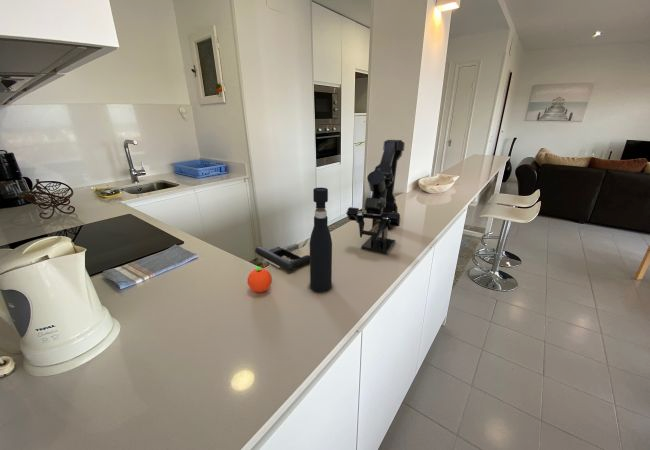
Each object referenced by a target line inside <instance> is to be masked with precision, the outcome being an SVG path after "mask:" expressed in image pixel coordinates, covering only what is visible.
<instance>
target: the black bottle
mask: <svg viewBox="0 0 650 450" xmlns="http://www.w3.org/2000/svg"><path fill="white" fill-rule="evenodd" d="M312 195H313V196H312V197H313V198H312V199H313V202H314V203H315V210H314V216H313V228H312V229H311V230H312V231H311V233H310V238H309V256H310V263H309V280H310V281H309V282H310V283H309V285H310V286H309V287H310V289H311V290H312V291H313V292H316V293H325V292H329V291H330V290H331V289H332V287H333V286H332V279H333V278H332V275H333V241H332V236H331V232H330V229H329V226H328V223H329V222H328V221H329V220H328V218H329V217H328V216H327V215H328V214H327V213H328V211H327V209H326V208H327V207H326V203H328V202H329V189H328V188H327V187H314V188H313V194H312Z"/></svg>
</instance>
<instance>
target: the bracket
mask: <svg viewBox="0 0 650 450" xmlns="http://www.w3.org/2000/svg"><path fill="white" fill-rule="evenodd" d="M376 223H377V219H372V222H371V229H372V228H373V227H374V226H375V225H376ZM377 230H378V228H377V229H376V230H375V231H374V232H375V233H377ZM388 230H389V229H388V227H387V228H386V229H385V230H384V231H383V232H382V233H381V236H379V238H378V239H377V240H376V239H375V238H376V237H374V236H370V237H369V238H368V239H366V241H364V243H363V244H362V245H361V247H360V249H361V250H364V251H369V252H373V253H378V254H383V255H387V254H388V253H389V252H390V251H391V249H392V247H393V246H394V245H395V244H396V239H391V238H388V232H389V231H388Z"/></svg>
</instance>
